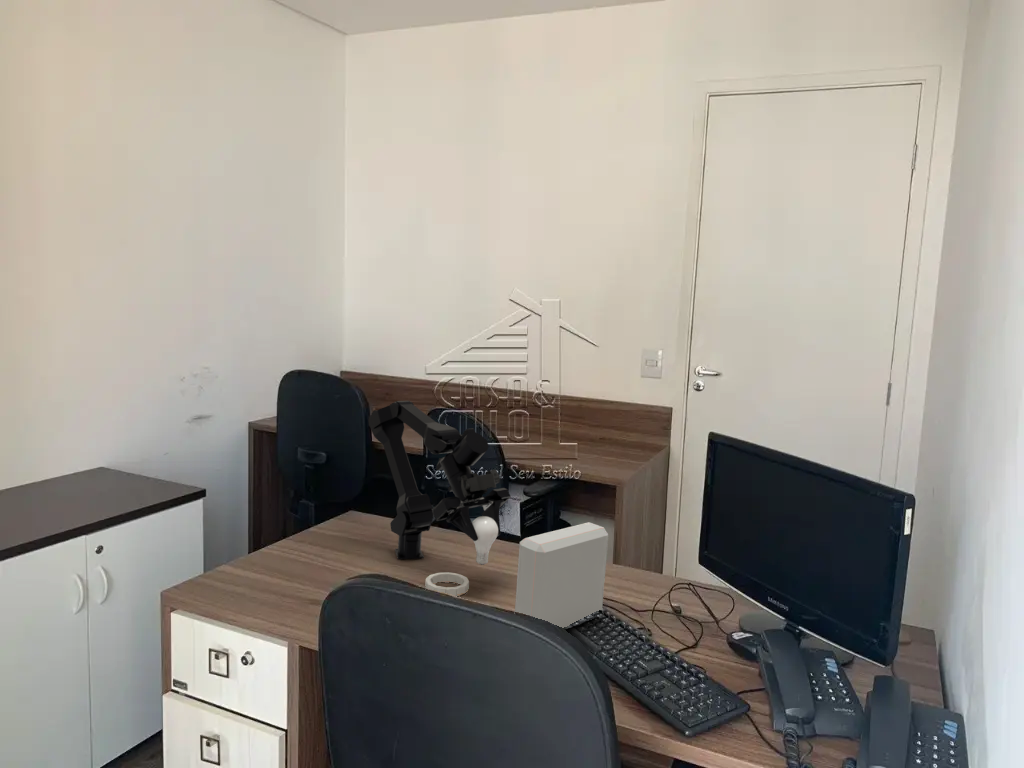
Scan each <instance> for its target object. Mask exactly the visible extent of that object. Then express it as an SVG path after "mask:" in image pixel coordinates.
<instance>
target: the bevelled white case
mask: <svg viewBox="0 0 1024 768" xmlns="http://www.w3.org/2000/svg"><path fill="white" fill-rule="evenodd" d="M608 546H609V533H608V532H607V531H606V529H605V527H604V526H601V525H598V524H595V523H592V522H589V521H588V522H585V523H580V524H576V525H572V526H568V527H564V528H561V529H560V528H559V529H556V530H553V531H552V530H551V531H548V532H544V533H540V534H536V535H532V536H529V537H528V536H527V537H525V538H523V539H522V540H521V541H519V547H518V549H519V550H518V562H517V563H518V565H517V573H516V574H517V576H516V590H515V592H516V593H515V603H514V613H515V612H519V613H523V614H526V615H530V616H533V617H535V618H538V619H542V620H545V621H548V622H550V623H552V624H554V625H557V626H559V627H562V628H564V627H567V626H569V625H570V624H572V623H574V622H576V621H578V620H580V619H582V618H584V617H586V616H588V615H590V614H592V613H594V612H596V611H599V610H602V611H603V605H604V593H605V592H604V591H605V579H606V571H607V557H608Z"/></svg>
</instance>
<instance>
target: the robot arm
mask: <svg viewBox="0 0 1024 768" xmlns="http://www.w3.org/2000/svg"><path fill="white" fill-rule="evenodd" d="M405 425H406V426H407V427H409V428H410V429H412V430H413V431H414V432H415V433H417V434H418V435H419V436H421V438H423V444H424V446H425V447H426V449H428V450H429V452H430V453H431V454H432V455H441V454H442V455H443V454H446V455H444V456H443V457H439V458H438V462H437V464H436V470H437V471H442V470H443V472H444V474H445V477H446V479H447V481H448V484H449V486H447V490H448V492H449V493H451V492H453V494H454V496H450V497H445V498H442V499H441V500H440V501H439V502H438V504H436V505H435V506H434V507H433V505H432V503H431V501H430V500H431V498H430V496H429V494H428V493H421V492H420V490H419V488H418V486H417V482H416V479H415V476H414V473H413V469H412V467H411V464H410V461H409V457H408V454H407V452H406V448H405V445H404V441H403V434H404V430H405ZM368 426H369V427H370V431H371V433H372V434H373V437H374V438H375V439H376V440H377V441H378V442H379V443H380V444H381V445H382V446H383V449H384V453H385V455H386V458H387V459H386V460H387V462H388V466H389V468H390V472H391V475H392V479H393V481H394V485H395V487H396V488H395V489H396V491H397V494H398V500H397V505H396V514H397V515H396V516H395V518H393V519H392V520H391V522H390V523H389V524H390V530H391V532H392V533H393V534H395V535H397V536H398V540H397V541H398V542H397V544H398V545H397V548H395V549H394V552H395V555H396V558H397V560H413V559H414V560H420V559H424V557H425V556H424V553H423V552H422V535H423V534H422V533H423V532H429V531H430V530H431V525H432V523H433V520H435V521H436V522H440V521H443V520H446V522H447V523H450V524H452V525H453V526H455V527H456V528H458V529H459V530H460V531H462V533H464V534H465V535H466V536H468V537H469V538H470V539H471V540H472V541H473V540H474V541H477V540H478V537H477V534H476V531H475V529H474V526H473V524H472V522H473V521H472V519H471V517H470V509H472V508H473V509H474V508H477V507H482V508H483V511H482V513H481V515H482V516H487V517H490V518H492V519H493V520H494V521H495V522H496V523H497V526H498V535H497V537H499V536H500V535H501V523H500V508H501V507H502V506H503V505H504V504H505V503H506V502H507V501H509V500H510V499H511V498H512V496H511V494H510V491H509V490H508V489H507V488H505V487H501V488H497V484H499V483H500V482H501V479H500V474H499V473H498V471H497V470H496V469H491V470H487V471H485V474H482V475H479V473H477V472H474V473H473V472H472V469H471V467H472V466H474V465H475V464H476V463H477V462H478V461H479V460H480V459H481V457H482V456H483V455H484V454H485V453H486V452H487V451H488V449H489V443H488V441H487V439H486V438H485V437H484V436H483V435H481V434H480V433H478V432H476V430H475V429H474V428H466V429H465V430H464V431H463V433H462V434H461V433H460V431H459V430H458V429H457V428H455V427H452V426H451V425H449V424H448V425H447V424H444V423H439V422H437V421H435V420H434V419H432V417H430V416H429V415H427V414H426V413H425V412H423V411H422V409H419V408H418V407H417V406H415V404H414V403H413V402H412V401H411V400H397V401H394V402H392V403H391V404H389V405H387V406H384V407H381V408H379V409H377V410H376V409H375V410H372V412H371V414H370V415H369V416H368ZM492 488H493V489H492ZM488 489H492V490H491V491H490V492H489V493H488V494H487V492H488ZM485 494H487V495H486V496H483V495H485ZM474 541H473V542H474Z"/></svg>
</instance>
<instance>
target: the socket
mask: <svg viewBox="0 0 1024 768" xmlns="http://www.w3.org/2000/svg"><path fill="white" fill-rule="evenodd" d="M441 581H442V582H443V581H444V582H445V581H450V582H456V583H458V584H461V585H458V584H457V586H447V587H446V586H440V585H436V584H433V583H437V582H441ZM445 583H446V582H445ZM424 584H425V585H424V589H425V588H429V589H432V590H437V591H440V592H444V593H448V594H452V595H455V596H458V595H457V594H461V593H466V591H467V590H468V589H470V588H469V587H470V581H469V579H468V577H467V576H464V575H462V574H460V573H455V572H450V571H449V572H448V571H447V572H445V571H444V572H435V573H432V574H429V576H427V577H426V578H425V583H424ZM437 584H438V583H437ZM425 586H426V587H425ZM466 594H467V593H466Z"/></svg>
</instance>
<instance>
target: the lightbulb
mask: <svg viewBox="0 0 1024 768" xmlns="http://www.w3.org/2000/svg"><path fill="white" fill-rule="evenodd" d="M471 522H472V524H473V526H474V529H475V531H476V534H477V537H478V540H477V541H474V540H472V541H473V543H474V546H475V547H474V548H475V550H476V557H475V558H476V559H475V560H476V561H475V562H476V563H477V564H479V565H480V566H482V565H483V566H484V565H486V564H487V563H488V562H489V555H490V554H489V552H490V551H491V547H492V545H493V543H494V542H495V541H496V539H497V537H498V536H497V535H498V526H497V523H496V522H495V521H494V520H493V519H492V518H490V517H487V516H483V515H482V516H478V517H476V518H474V520H472V521H471Z"/></svg>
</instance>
